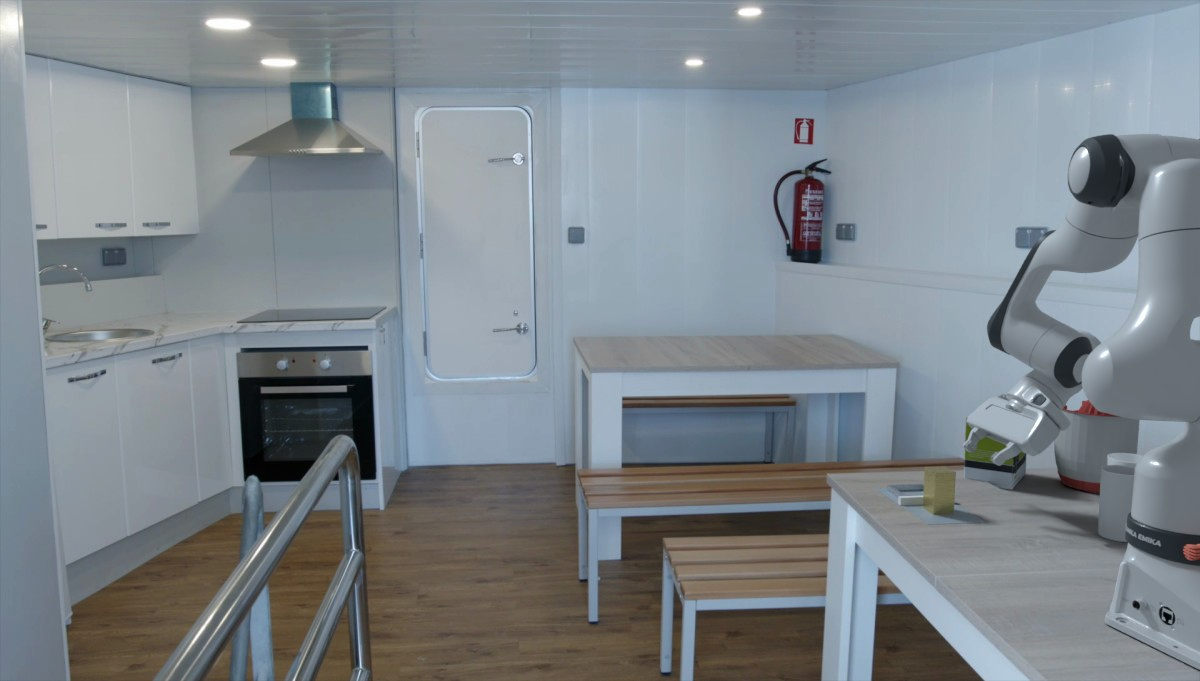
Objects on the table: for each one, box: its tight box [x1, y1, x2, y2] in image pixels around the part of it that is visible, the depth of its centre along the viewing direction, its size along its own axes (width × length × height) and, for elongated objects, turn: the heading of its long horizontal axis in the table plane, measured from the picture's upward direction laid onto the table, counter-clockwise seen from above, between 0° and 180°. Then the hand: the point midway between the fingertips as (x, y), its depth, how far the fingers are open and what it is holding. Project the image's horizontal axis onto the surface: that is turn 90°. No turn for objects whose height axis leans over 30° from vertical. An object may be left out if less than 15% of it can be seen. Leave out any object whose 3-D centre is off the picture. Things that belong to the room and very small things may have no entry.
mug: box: [1097, 465, 1135, 543], centre depth 153 cm, size 10×7×12 cm, turn 150°
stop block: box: [923, 465, 957, 515], centre depth 163 cm, size 4×4×8 cm
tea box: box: [963, 416, 1027, 491], centre depth 187 cm, size 15×10×15 cm
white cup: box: [1107, 453, 1144, 468], centre depth 168 cm, size 8×8×10 cm
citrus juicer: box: [1053, 399, 1141, 494], centre depth 182 cm, size 16×17×20 cm
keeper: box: [886, 483, 924, 498], centre depth 173 cm, size 8×8×1 cm
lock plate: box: [875, 487, 987, 526], centre depth 167 cm, size 22×11×2 cm, turn 7°
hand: (980, 455), depth 163 cm, fingers open, 8 cm apart
